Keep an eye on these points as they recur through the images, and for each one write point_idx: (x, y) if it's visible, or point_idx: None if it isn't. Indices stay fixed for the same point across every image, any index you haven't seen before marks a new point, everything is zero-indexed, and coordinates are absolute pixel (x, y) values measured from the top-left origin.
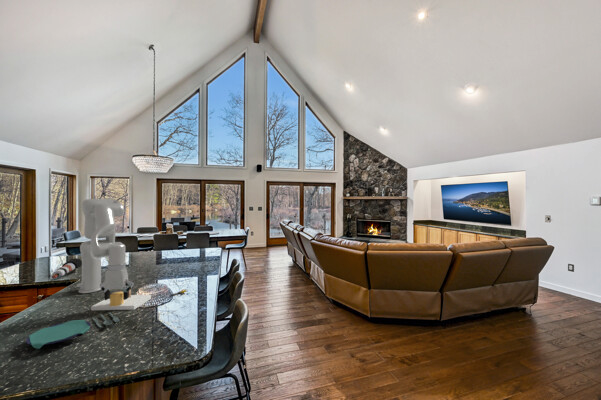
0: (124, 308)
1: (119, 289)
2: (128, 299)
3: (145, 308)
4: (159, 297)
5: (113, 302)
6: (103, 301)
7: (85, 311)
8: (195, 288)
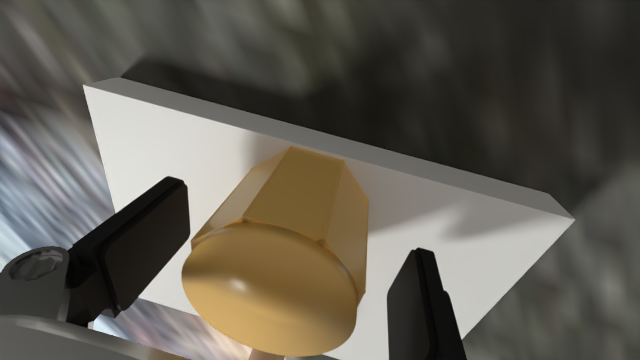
0: (204, 106)
1: (59, 321)
2: None
3: (36, 76)
4: None
5: (303, 171)
6: (463, 304)
7: (609, 182)
8: None
